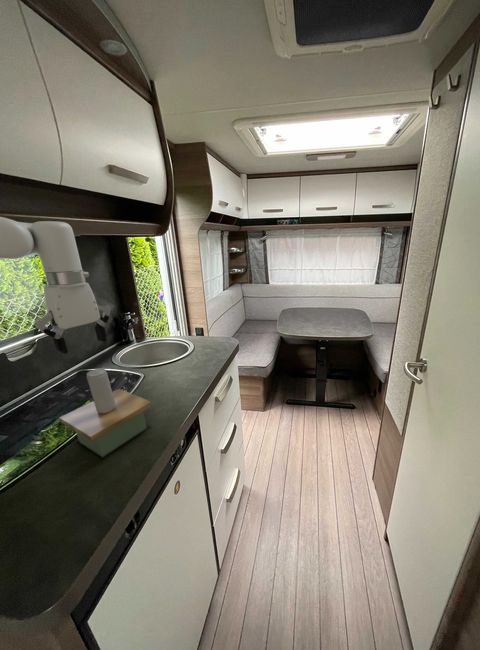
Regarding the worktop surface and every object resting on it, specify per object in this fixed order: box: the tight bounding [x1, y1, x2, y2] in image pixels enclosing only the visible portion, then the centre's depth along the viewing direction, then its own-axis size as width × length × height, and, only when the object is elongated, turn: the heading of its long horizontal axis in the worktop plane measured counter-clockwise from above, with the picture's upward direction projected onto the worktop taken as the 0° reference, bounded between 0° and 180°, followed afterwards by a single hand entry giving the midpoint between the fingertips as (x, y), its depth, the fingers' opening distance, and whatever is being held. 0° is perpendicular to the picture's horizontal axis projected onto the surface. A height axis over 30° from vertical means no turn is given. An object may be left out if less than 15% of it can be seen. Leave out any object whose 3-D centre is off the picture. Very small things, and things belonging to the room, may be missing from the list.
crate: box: [75, 411, 148, 458], centre depth 82 cm, size 12×14×8 cm
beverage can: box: [86, 368, 115, 414], centre depth 77 cm, size 5×5×12 cm
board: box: [58, 388, 153, 441], centre depth 80 cm, size 16×18×2 cm
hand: (83, 346), depth 72 cm, fingers open, 9 cm apart
